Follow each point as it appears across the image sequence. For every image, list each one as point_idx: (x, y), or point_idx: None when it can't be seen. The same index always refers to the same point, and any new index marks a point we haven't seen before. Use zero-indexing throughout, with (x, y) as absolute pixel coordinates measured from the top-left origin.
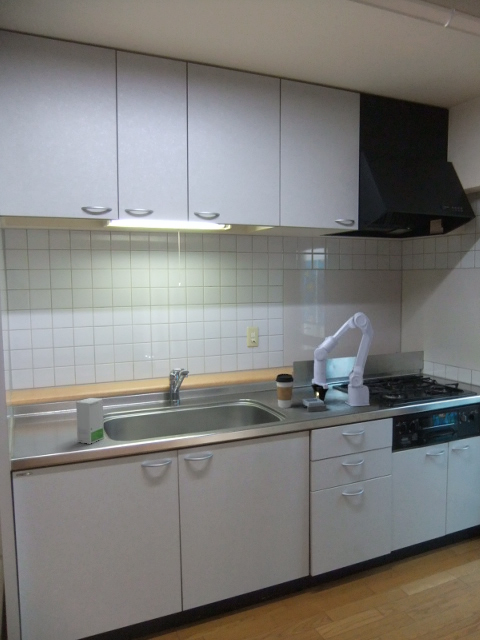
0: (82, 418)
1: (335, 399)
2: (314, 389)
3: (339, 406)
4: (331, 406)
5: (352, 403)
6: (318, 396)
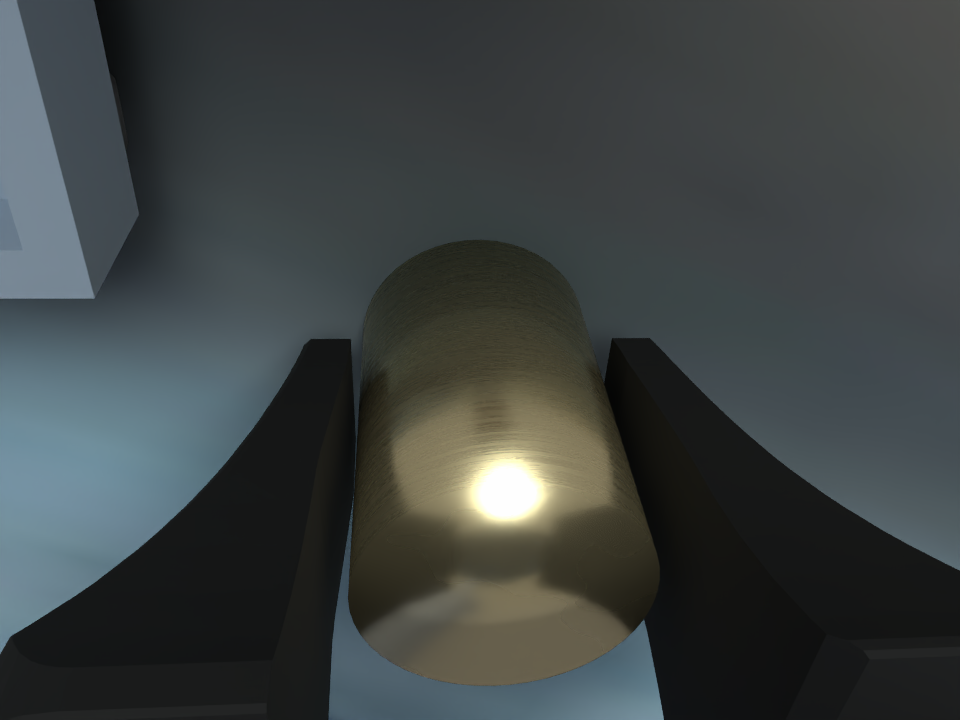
0: None
1: (619, 674)
2: (732, 546)
3: (65, 587)
4: (76, 460)
5: None
6: (387, 421)
